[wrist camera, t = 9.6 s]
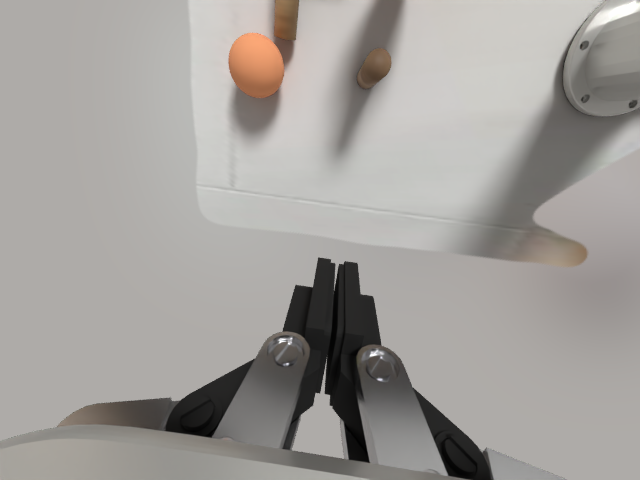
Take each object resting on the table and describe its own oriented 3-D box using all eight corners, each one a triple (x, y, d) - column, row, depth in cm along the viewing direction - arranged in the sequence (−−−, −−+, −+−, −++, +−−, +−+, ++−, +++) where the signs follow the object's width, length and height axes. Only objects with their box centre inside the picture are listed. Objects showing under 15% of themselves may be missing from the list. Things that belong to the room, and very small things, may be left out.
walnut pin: (378, 66, 30) (393, 49, 23) (375, 89, 31) (388, 80, 24) (358, 65, 30) (367, 47, 23) (355, 88, 31) (363, 78, 24)
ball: (258, 70, 24) (291, 104, 30) (265, 9, 25) (296, 54, 30) (213, 82, 27) (250, 111, 32) (219, 26, 27) (255, 65, 33)
